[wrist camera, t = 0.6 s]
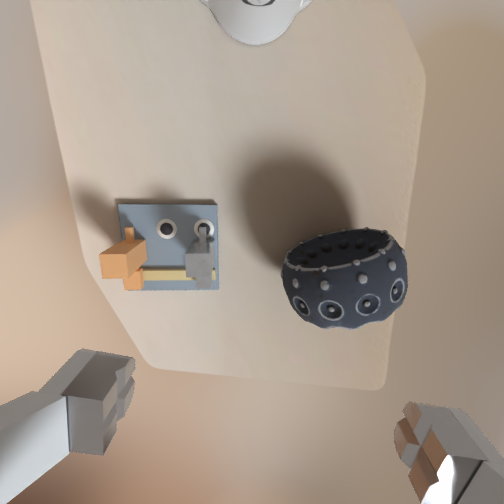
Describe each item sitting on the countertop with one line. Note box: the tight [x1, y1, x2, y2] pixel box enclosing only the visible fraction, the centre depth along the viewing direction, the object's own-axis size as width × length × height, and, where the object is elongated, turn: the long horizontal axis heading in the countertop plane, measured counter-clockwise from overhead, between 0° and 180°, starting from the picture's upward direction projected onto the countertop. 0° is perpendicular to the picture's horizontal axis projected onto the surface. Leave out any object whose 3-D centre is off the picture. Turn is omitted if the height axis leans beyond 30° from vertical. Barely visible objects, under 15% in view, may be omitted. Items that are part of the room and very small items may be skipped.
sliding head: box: [99, 227, 147, 290], centre depth 49 cm, size 12×4×10 cm, turn 179°
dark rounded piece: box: [281, 227, 408, 330], centre depth 48 cm, size 11×20×20 cm, turn 107°
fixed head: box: [185, 227, 215, 289], centre depth 50 cm, size 12×4×10 cm, turn 179°
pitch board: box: [118, 204, 219, 291], centre depth 54 cm, size 17×18×2 cm
